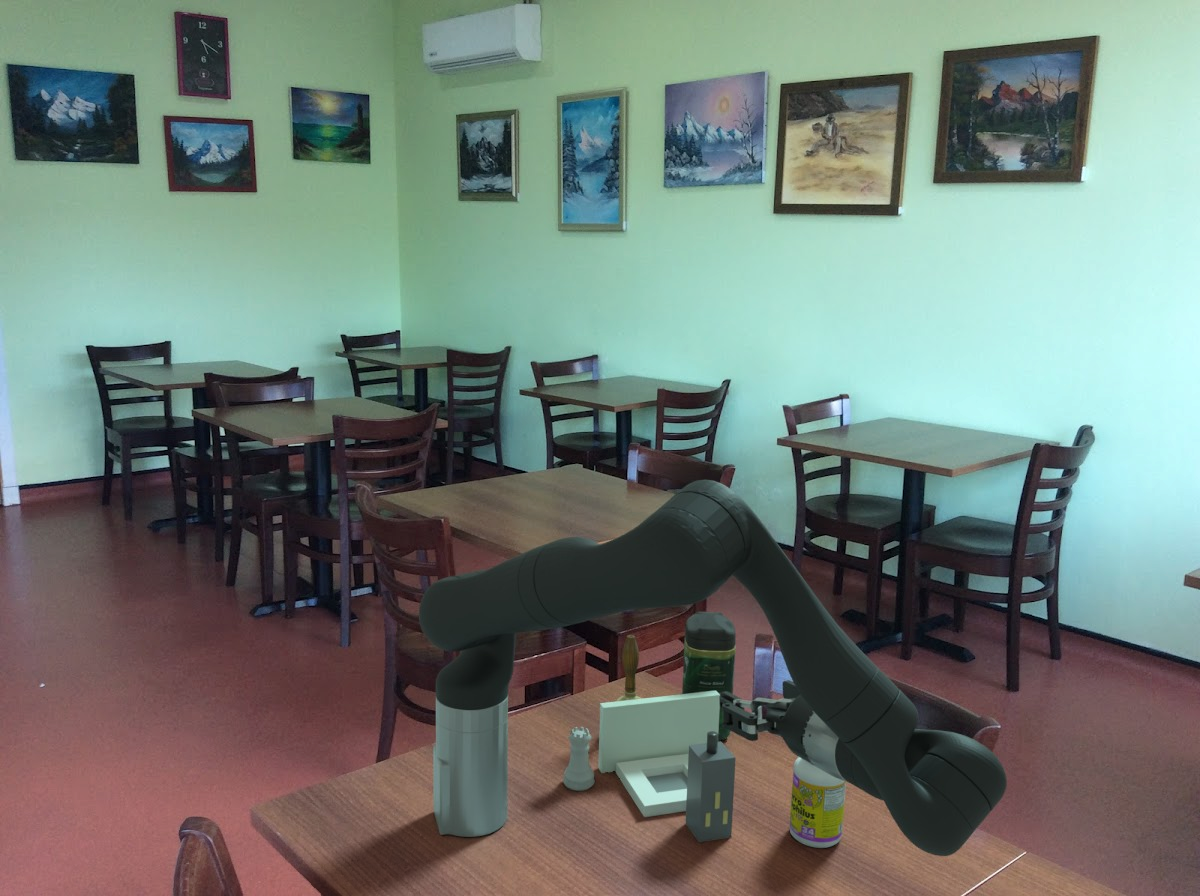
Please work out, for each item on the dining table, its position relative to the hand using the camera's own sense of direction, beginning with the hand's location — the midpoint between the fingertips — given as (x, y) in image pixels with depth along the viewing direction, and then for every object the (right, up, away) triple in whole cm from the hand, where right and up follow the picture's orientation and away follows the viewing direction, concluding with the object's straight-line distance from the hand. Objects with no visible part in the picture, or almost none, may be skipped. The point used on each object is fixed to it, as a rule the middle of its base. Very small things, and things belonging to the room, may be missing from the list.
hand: (754, 694), depth 119 cm
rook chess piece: (-21, -18, +21) cm, 35 cm away
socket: (-8, -18, +22) cm, 29 cm away
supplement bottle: (+9, -21, +10) cm, 25 cm away
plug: (-4, -20, +10) cm, 23 cm away
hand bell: (-14, -15, +37) cm, 42 cm away
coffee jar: (-2, -15, +39) cm, 42 cm away
